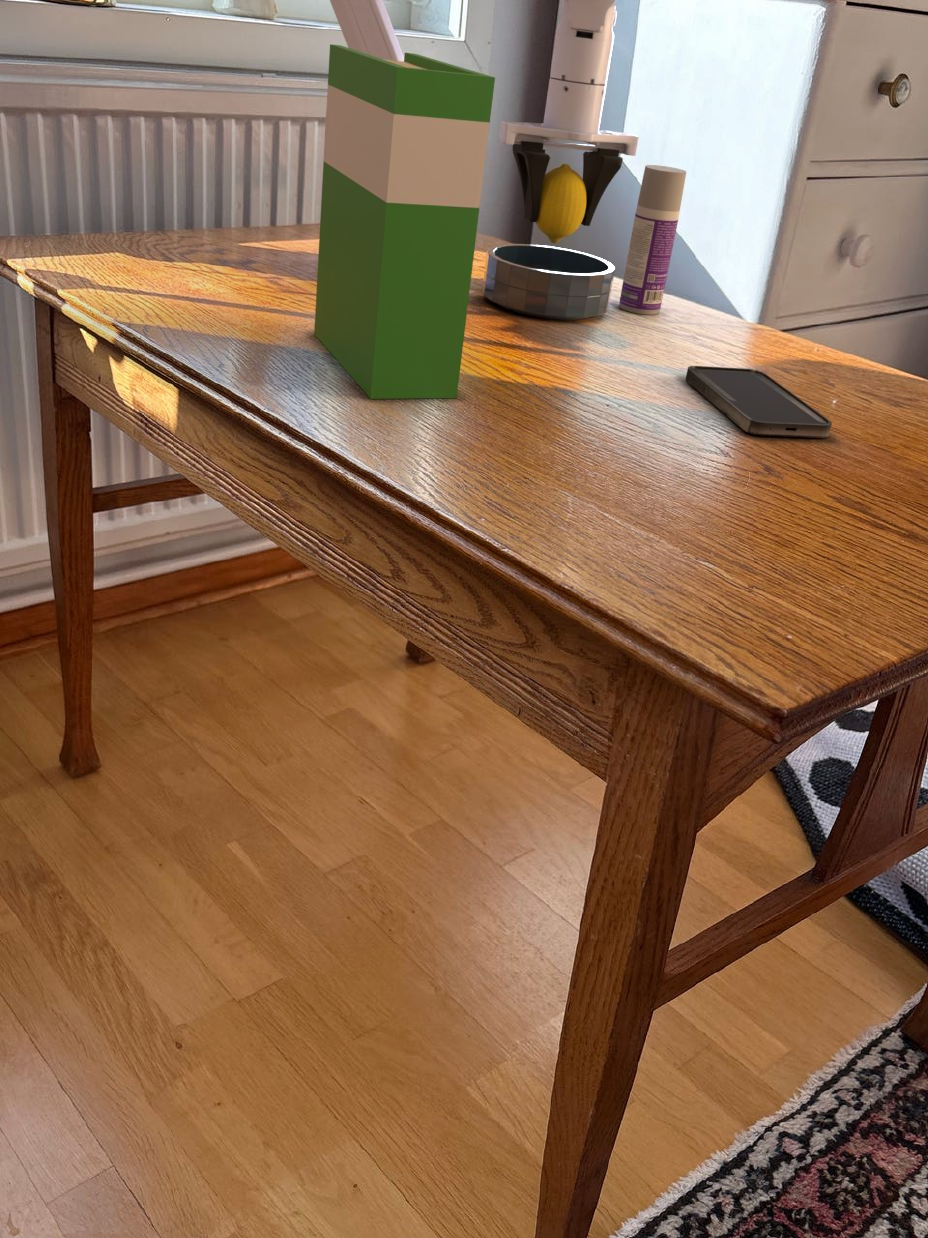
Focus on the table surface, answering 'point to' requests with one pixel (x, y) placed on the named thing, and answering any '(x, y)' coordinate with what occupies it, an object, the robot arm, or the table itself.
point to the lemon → (561, 203)
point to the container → (652, 239)
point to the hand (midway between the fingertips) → (556, 221)
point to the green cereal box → (400, 219)
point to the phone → (758, 402)
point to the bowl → (547, 281)
